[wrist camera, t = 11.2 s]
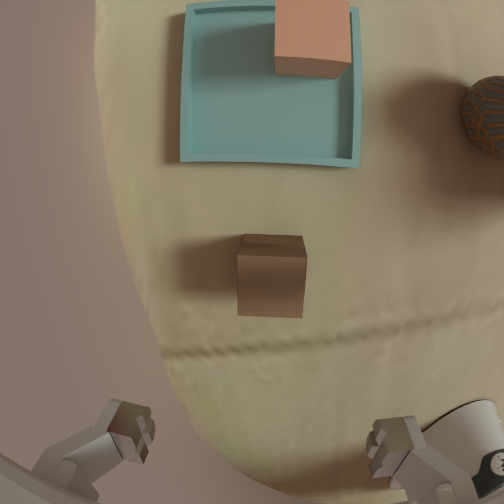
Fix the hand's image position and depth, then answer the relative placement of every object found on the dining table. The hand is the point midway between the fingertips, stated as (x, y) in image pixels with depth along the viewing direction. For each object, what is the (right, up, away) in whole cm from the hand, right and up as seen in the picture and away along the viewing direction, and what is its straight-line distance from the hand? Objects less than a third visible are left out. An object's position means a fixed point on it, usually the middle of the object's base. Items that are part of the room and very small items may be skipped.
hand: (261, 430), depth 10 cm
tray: (+1, +19, +11) cm, 22 cm away
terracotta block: (+4, +21, +9) cm, 23 cm away
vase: (+20, +18, +10) cm, 28 cm away
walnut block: (+1, +6, +16) cm, 17 cm away
